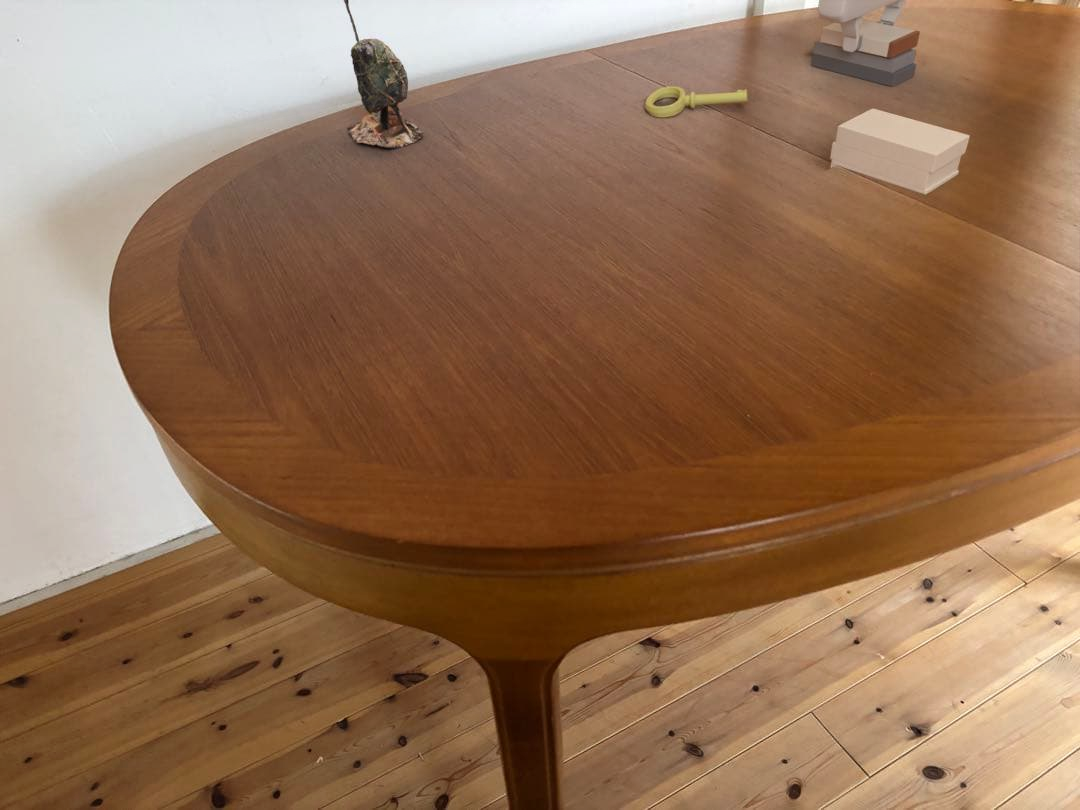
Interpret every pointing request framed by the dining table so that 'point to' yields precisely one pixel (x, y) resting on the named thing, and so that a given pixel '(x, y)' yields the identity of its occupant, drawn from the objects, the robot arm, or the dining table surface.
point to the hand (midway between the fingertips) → (867, 42)
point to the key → (688, 100)
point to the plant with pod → (380, 94)
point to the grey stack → (864, 64)
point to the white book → (875, 38)
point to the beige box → (899, 150)
